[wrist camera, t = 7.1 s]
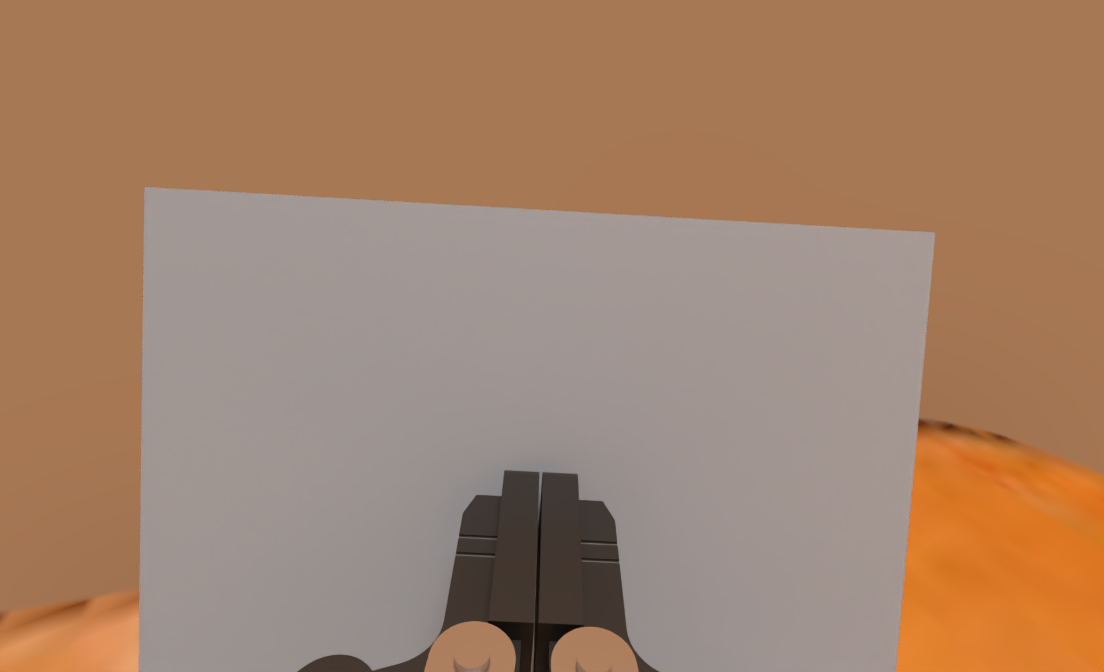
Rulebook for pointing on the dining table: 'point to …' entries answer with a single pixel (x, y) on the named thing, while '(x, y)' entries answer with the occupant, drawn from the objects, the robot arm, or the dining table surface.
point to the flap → (521, 423)
